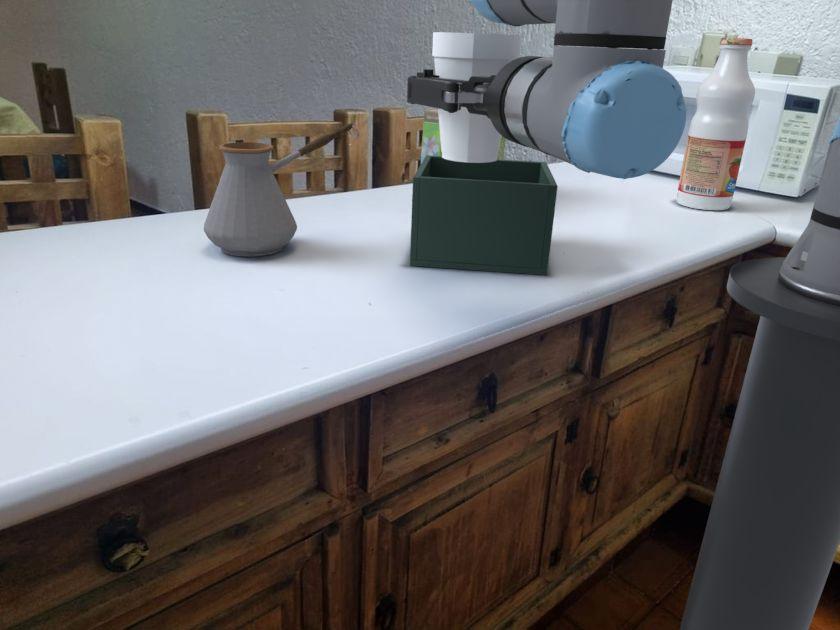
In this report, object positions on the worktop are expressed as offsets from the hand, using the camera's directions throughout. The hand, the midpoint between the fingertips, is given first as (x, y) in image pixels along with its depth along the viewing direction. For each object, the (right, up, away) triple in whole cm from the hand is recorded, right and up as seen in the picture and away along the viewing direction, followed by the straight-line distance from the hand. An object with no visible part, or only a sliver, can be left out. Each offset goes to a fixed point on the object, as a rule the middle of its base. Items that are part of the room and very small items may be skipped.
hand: (461, 86), depth 76 cm
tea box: (+3, -4, +45) cm, 45 cm away
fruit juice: (+47, -7, +44) cm, 64 cm away
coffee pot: (-22, -17, +11) cm, 30 cm away
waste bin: (+3, -18, +11) cm, 21 cm away
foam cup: (+1, -9, -1) cm, 9 cm away
